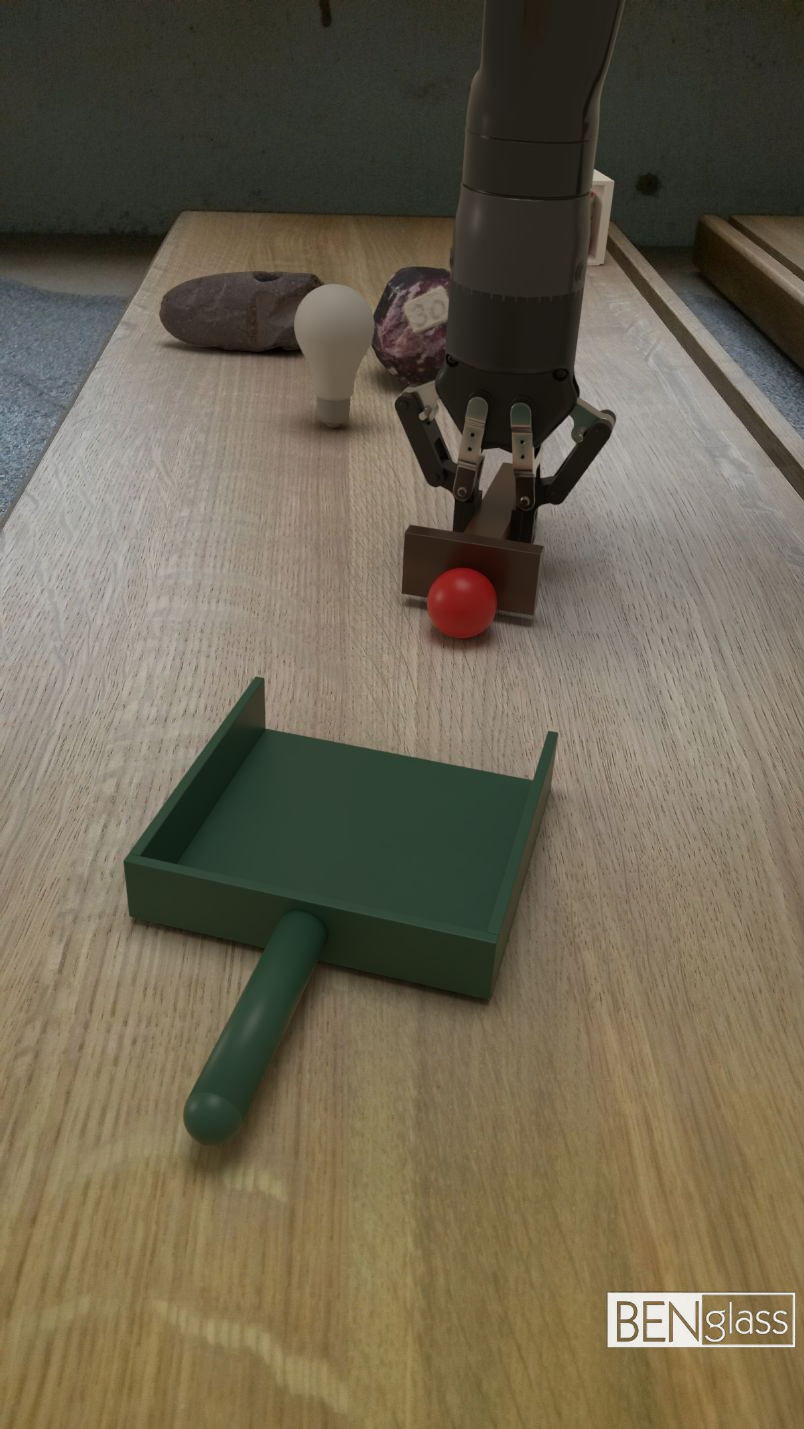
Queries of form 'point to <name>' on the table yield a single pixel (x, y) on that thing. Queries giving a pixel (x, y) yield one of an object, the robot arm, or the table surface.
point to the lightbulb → (334, 345)
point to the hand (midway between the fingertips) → (491, 552)
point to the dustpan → (330, 877)
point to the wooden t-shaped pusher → (478, 551)
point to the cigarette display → (599, 217)
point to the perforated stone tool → (237, 309)
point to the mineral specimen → (413, 324)
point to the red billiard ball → (462, 603)
